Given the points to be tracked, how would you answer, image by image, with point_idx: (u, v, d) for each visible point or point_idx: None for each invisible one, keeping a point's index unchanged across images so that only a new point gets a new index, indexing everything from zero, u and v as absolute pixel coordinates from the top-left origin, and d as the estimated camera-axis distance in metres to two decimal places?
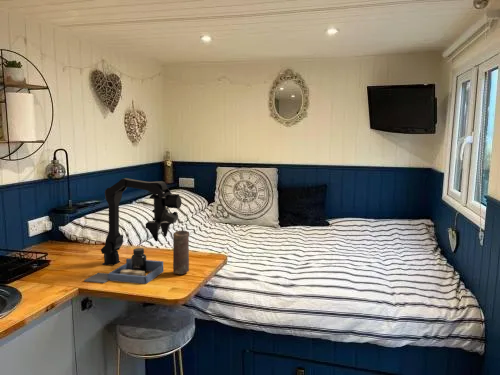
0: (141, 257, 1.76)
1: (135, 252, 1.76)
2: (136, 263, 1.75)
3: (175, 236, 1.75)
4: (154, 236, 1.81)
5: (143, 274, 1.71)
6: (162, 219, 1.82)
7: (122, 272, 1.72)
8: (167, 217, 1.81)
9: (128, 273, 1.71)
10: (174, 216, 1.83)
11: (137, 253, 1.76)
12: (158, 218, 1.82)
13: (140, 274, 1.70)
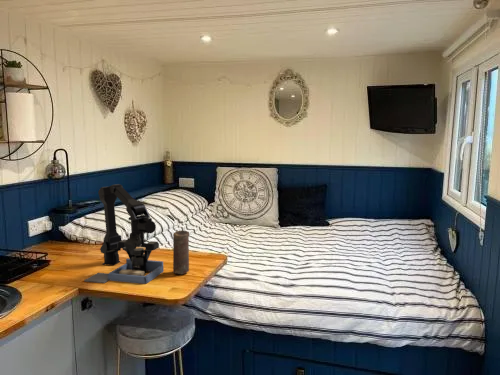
0: (141, 257, 1.76)
1: (135, 252, 1.76)
2: (136, 262, 1.75)
3: (175, 236, 1.75)
4: None
5: (142, 274, 1.71)
6: None
7: (121, 272, 1.72)
8: None
9: (127, 273, 1.71)
10: (129, 242, 1.70)
11: (137, 253, 1.76)
12: None
13: (139, 274, 1.70)
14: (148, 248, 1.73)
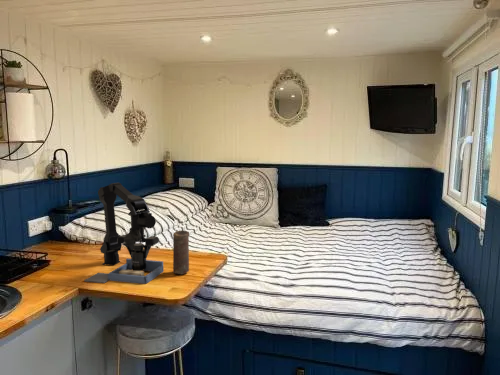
0: (141, 252, 1.76)
1: (135, 247, 1.76)
2: (136, 258, 1.75)
3: (175, 236, 1.75)
4: None
5: (142, 274, 1.71)
6: None
7: (121, 272, 1.72)
8: None
9: (127, 273, 1.71)
10: (129, 237, 1.70)
11: (137, 248, 1.76)
12: None
13: (139, 274, 1.70)
14: (148, 243, 1.73)
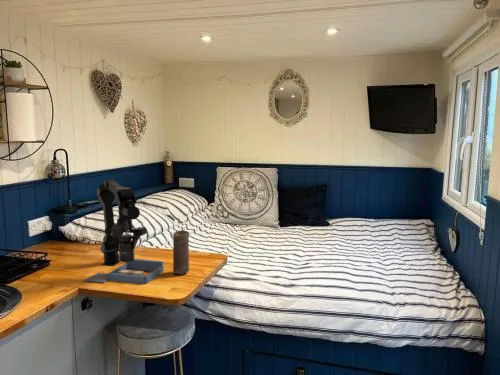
0: (129, 243, 1.74)
1: (122, 238, 1.73)
2: (124, 248, 1.73)
3: (175, 236, 1.75)
4: None
5: (142, 274, 1.71)
6: None
7: (121, 272, 1.72)
8: None
9: (127, 273, 1.71)
10: (116, 228, 1.67)
11: (125, 239, 1.73)
12: None
13: (139, 274, 1.70)
14: (136, 234, 1.71)
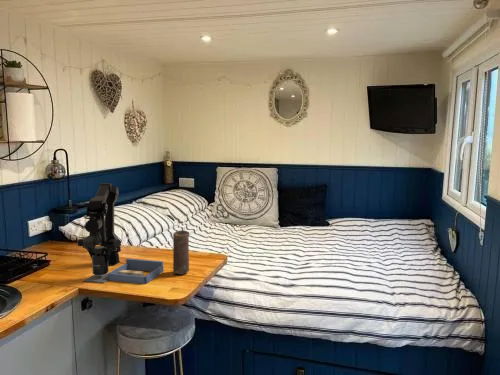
0: (102, 255, 1.70)
1: (95, 250, 1.70)
2: (97, 261, 1.69)
3: (175, 236, 1.75)
4: None
5: (141, 274, 1.71)
6: None
7: (120, 272, 1.72)
8: None
9: (126, 273, 1.71)
10: (87, 240, 1.64)
11: (97, 251, 1.70)
12: None
13: (138, 274, 1.70)
14: (108, 246, 1.67)
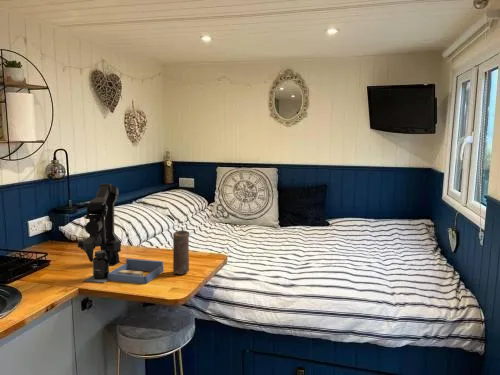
0: (103, 259, 1.70)
1: (96, 255, 1.70)
2: (97, 265, 1.69)
3: (175, 236, 1.75)
4: None
5: (141, 275, 1.71)
6: None
7: (120, 273, 1.71)
8: None
9: None
10: (88, 242, 1.64)
11: (98, 256, 1.70)
12: None
13: (138, 275, 1.69)
14: (108, 248, 1.67)
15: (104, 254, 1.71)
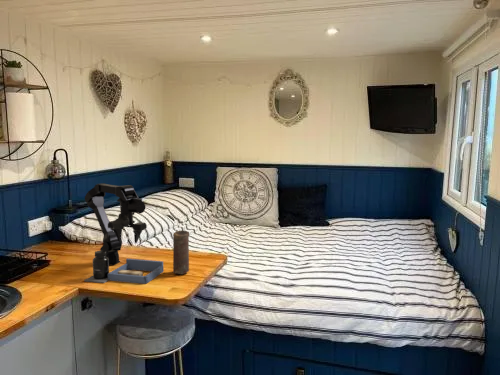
0: (103, 259, 1.70)
1: (96, 255, 1.70)
2: (97, 265, 1.69)
3: (175, 236, 1.75)
4: None
5: (141, 275, 1.70)
6: None
7: (120, 273, 1.71)
8: None
9: None
10: (116, 222, 1.78)
11: (98, 256, 1.70)
12: None
13: (138, 275, 1.69)
14: (135, 228, 1.80)
15: (104, 254, 1.71)
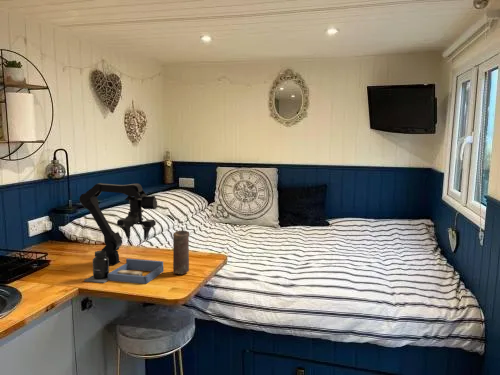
0: (103, 259, 1.70)
1: (96, 255, 1.70)
2: (97, 265, 1.69)
3: (175, 236, 1.75)
4: None
5: (140, 275, 1.70)
6: None
7: (119, 273, 1.71)
8: None
9: None
10: (127, 220, 1.83)
11: (98, 256, 1.70)
12: None
13: (137, 275, 1.69)
14: (145, 225, 1.86)
15: (104, 254, 1.71)
